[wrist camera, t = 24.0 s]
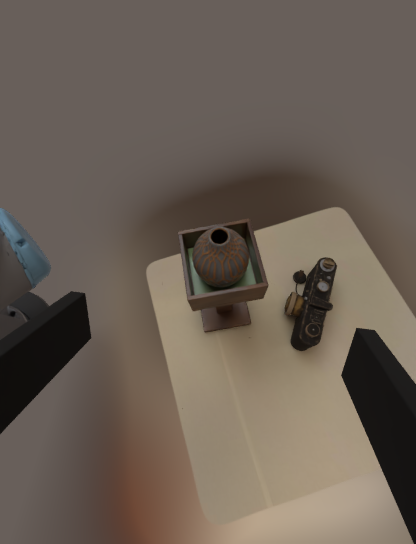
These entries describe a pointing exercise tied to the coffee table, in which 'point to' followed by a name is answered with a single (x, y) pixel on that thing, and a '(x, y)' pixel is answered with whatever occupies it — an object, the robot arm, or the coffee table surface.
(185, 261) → the square pedestal box
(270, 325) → the coffee table surface
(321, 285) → the camera
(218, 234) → the vase
